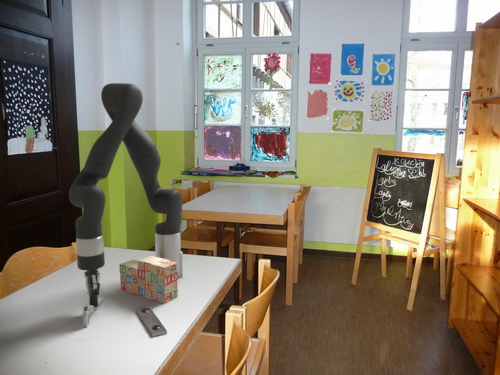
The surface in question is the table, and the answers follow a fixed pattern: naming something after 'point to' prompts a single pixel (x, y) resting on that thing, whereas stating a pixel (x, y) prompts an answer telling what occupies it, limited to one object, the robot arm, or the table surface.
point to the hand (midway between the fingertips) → (93, 306)
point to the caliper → (89, 312)
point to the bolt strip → (151, 321)
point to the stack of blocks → (150, 278)
